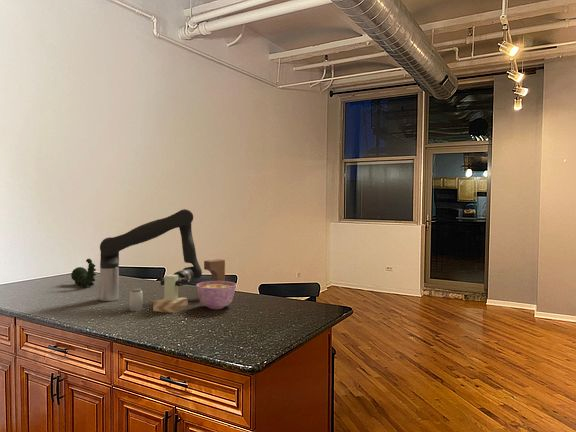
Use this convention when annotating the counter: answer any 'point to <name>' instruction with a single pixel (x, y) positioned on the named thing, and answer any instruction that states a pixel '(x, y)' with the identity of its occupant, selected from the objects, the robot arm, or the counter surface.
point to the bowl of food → (216, 293)
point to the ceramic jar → (136, 299)
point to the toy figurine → (84, 275)
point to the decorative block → (216, 269)
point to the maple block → (170, 305)
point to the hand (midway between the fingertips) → (169, 283)
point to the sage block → (170, 288)
